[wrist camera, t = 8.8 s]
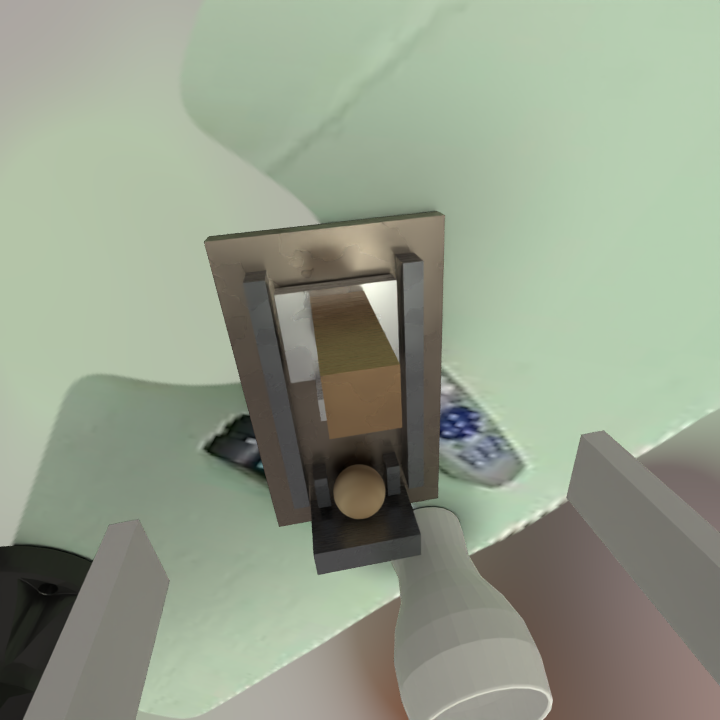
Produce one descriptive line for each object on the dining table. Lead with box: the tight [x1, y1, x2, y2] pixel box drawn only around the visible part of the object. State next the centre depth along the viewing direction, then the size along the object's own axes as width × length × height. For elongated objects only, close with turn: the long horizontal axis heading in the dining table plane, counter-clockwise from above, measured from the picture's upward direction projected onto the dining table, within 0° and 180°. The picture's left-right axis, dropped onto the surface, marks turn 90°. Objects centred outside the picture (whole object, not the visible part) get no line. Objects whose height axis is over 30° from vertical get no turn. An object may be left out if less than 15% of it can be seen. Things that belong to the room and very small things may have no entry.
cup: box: [391, 507, 553, 720], centre depth 34 cm, size 11×11×15 cm
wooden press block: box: [274, 274, 402, 439], centre depth 22 cm, size 7×8×10 cm
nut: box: [333, 464, 385, 519], centre depth 31 cm, size 4×4×4 cm
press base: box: [204, 211, 445, 575], centre depth 28 cm, size 14×24×6 cm, turn 4°
